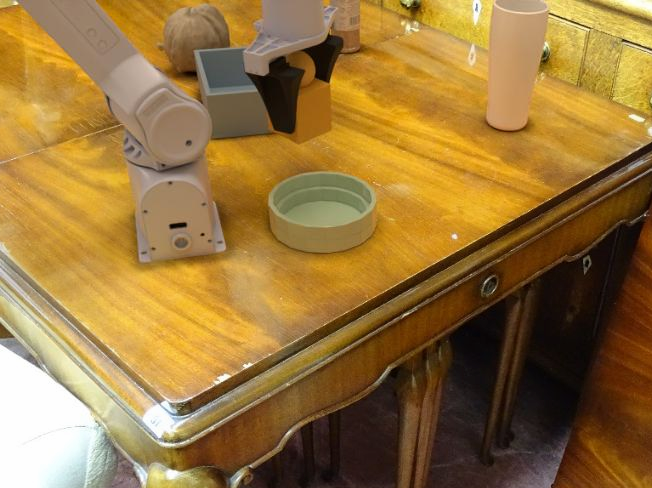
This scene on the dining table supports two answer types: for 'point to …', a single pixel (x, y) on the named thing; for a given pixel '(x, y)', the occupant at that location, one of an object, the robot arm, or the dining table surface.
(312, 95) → the orange ball-topped block
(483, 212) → the dining table surface
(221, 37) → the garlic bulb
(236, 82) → the bin
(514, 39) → the drinking glass
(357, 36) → the sprinkles bottle
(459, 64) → the dining table surface
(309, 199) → the bowl
